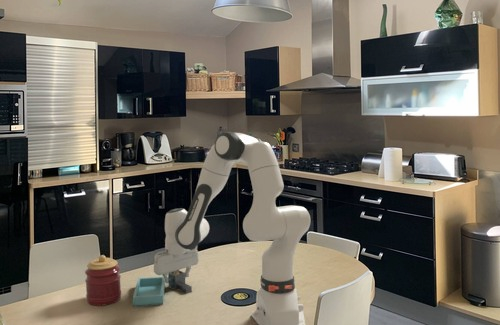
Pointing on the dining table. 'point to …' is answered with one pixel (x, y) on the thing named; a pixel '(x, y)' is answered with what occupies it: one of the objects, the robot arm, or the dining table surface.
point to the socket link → (178, 282)
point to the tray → (149, 291)
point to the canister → (103, 281)
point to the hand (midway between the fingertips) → (177, 279)
